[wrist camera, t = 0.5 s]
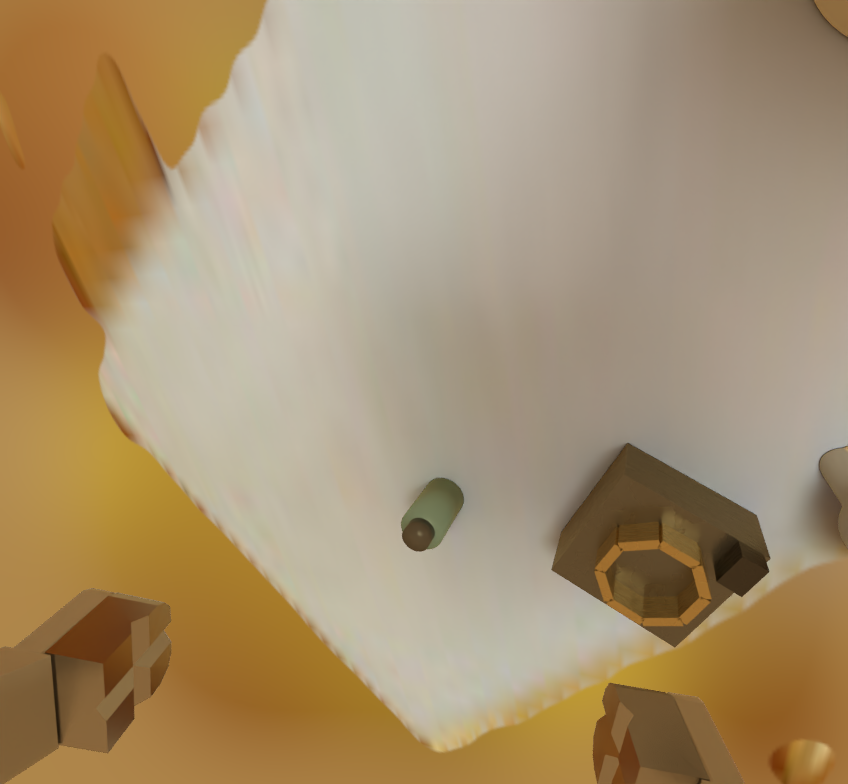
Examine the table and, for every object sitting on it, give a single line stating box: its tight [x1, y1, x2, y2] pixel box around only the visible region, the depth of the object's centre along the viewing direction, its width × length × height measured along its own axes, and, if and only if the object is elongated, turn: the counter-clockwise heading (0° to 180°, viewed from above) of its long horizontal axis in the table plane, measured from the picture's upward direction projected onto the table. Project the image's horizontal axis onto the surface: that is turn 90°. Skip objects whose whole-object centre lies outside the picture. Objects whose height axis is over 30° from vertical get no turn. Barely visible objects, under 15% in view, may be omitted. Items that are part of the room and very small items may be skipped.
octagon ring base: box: [551, 443, 770, 647], centre depth 44 cm, size 12×12×8 cm
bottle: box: [401, 478, 464, 551], centre depth 52 cm, size 4×4×8 cm
